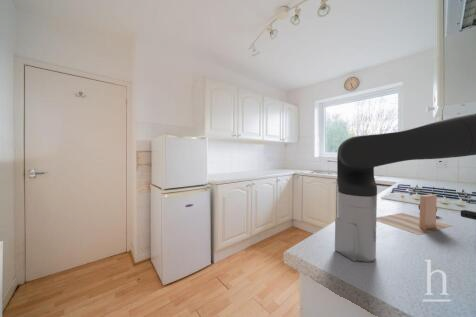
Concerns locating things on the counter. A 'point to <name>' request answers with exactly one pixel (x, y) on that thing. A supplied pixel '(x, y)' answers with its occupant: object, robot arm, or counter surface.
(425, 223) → the tile
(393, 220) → the board
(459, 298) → the counter surface
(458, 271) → the counter surface
